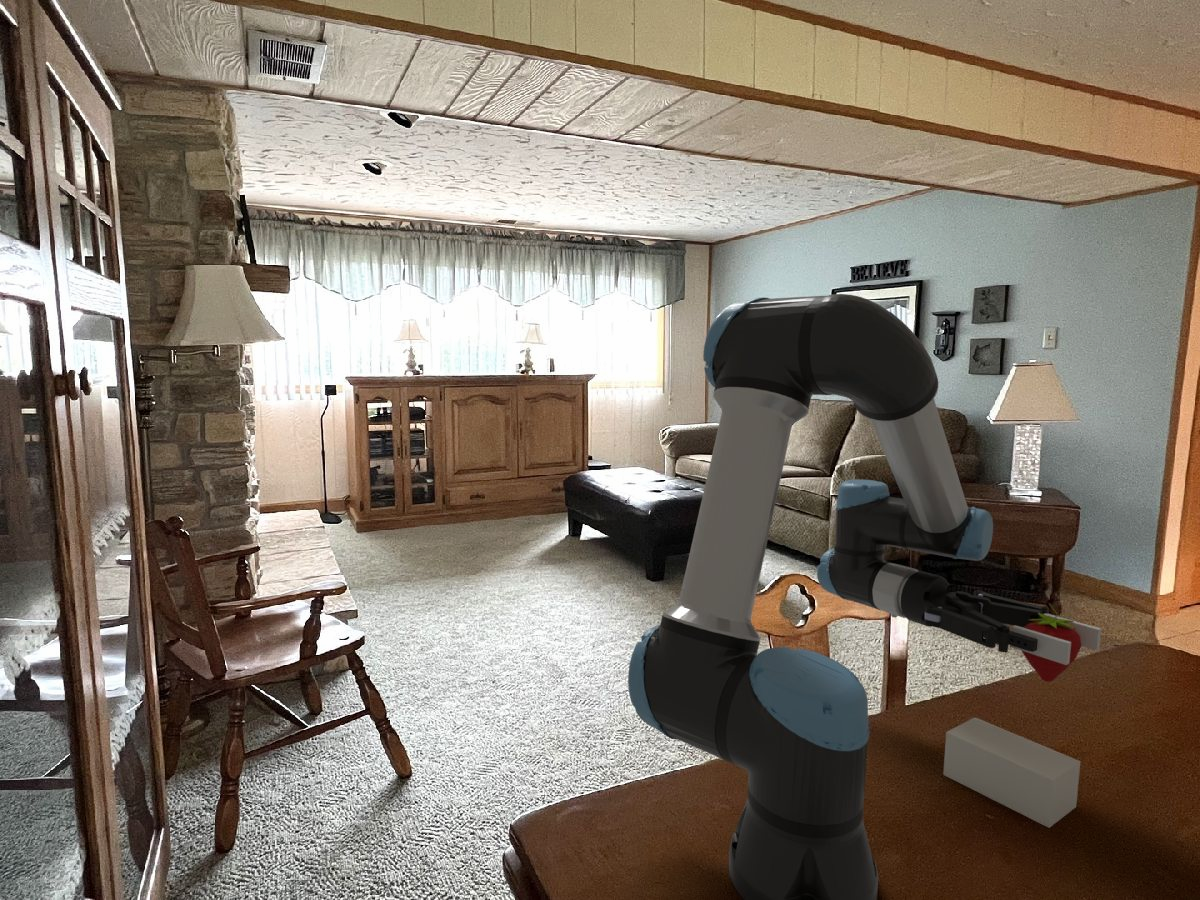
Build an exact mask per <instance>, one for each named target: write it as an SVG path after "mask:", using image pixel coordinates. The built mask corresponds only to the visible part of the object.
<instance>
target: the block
mask: <svg viewBox="0 0 1200 900" xmlns="http://www.w3.org/2000/svg"><path fill="white" fill-rule="evenodd" d="M944 744H945V747H944V757H943V758H944V760H943V775H944V776H945V777H947V778H949V779H951V780H953V781H954V782H957V783H959V784H960V785H962V786H965V787H967V788H969V789H970V790H973V791H975V792H976V793H978V794H981V795H983V796H984V797H987V798H989V799H990V800H992V801H995V802H997V803H999V804H1001V805H1003V806H1004V807H1006V808H1008V809H1010V810H1013V811H1014V812H1017V813H1019V814H1021V815H1023V816H1025V817H1027V818H1028V819H1031V820H1032V821H1035V822H1036V823H1038V824H1041V826H1045V827H1046V828H1051V827H1053V826H1054V825H1055V824H1056V823H1058V822H1059V821H1060V820H1061V819H1063V818H1064V817H1065V816H1067V815H1068V814H1070V812H1072V811H1073V810H1075V809H1076V808H1077V804H1078V803H1077V801H1078V800H1077V799H1078V793H1079V792H1078V791H1079V780H1080V770H1081V761H1080V760H1078V759H1076V758H1073V757H1071V756H1069V755H1066V754H1065V753H1061V752H1059V751H1056V750H1054V749H1052V748H1049V747H1047V746H1045V745H1042V744H1040V743H1037V742H1035V741H1032V740H1030V739H1028V738H1026V737H1024V736H1021V735H1018V734H1016V733H1013V732H1011V731H1009V730H1007V729H1003V728H1002V727H999V726H996V725H994V724H992V723H990V722H987V721H985V720H983V719H980V718H977V717H972V718H971V719H968V720H967V721H965V722H963V723H961V724H959V725H958V726H956V727H955V726H954V728H951V729H949V730H948V731H946V732H945V743H944Z"/></svg>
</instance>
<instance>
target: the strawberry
mask: <svg viewBox="0 0 1200 900" xmlns="http://www.w3.org/2000/svg"><path fill="white" fill-rule="evenodd" d="M1048 605H1050V607H1051V609H1052V610H1053V611H1054V613H1055V614H1056V615H1055V616H1056V617H1057V616H1058V615H1059V614H1058V612H1057V611H1056V610H1055V609H1054V607H1053V606H1052V604H1051V603H1050V602H1049V603H1048ZM1038 614H1039V615H1040V617H1042V618H1043V619H1029V621H1036V622H1033V623H1029V624H1027V625H1026V626H1024V627H1023V628H1026V629H1029V630H1033V631H1036V632H1039V633H1043V634H1046V635H1049V636H1053V637H1056V638H1059V639H1063V640H1066V641H1069V642H1071V650H1070V661H1069V664H1068V665H1064V664H1061V663H1058V662H1055V661H1052V660H1049V659H1046V658H1043V657H1040V656H1037V655H1034V654H1031V653H1028V652H1025V651H1021V652H1022V654H1023V656H1024V657H1025V659H1026V660H1027V662H1028V664H1029V665H1030V667H1032V668H1033V670H1034V671H1035V672H1036V673H1037V674H1038V676H1039V677H1040V679H1041V680H1042V681H1043V682H1047V683H1050V682H1053V681H1055V680H1056V678H1058V677H1059V675H1061V674H1062V673H1064V672H1065V671H1066V670H1067V669H1068V668H1069V667H1070V666H1071V665H1072V663H1073V662H1074V661H1075V660H1076V658H1077V657H1078V654H1079V652H1080V650H1081V647H1082V646H1081V640H1080V636H1079V634H1078V633H1077V632H1076V631H1075V630H1076V629H1075V628H1074V627H1072V626H1070V625H1068V624H1066V623H1068V622H1074V621H1075V620H1072V621H1070V620H1071V619H1069V620H1064V619H1058V620H1056V617H1055V618H1053V617H1049V616H1047V615H1044V614H1041V613H1038ZM1074 629H1075V630H1074Z"/></svg>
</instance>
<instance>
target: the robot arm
mask: <svg viewBox="0 0 1200 900" xmlns="http://www.w3.org/2000/svg"><path fill="white" fill-rule="evenodd" d="M703 361H704V362H706V363H705V366H704V368H703V369H704V373H705V376H706V378H707V381H708V382H709V384H710V385H711V386H712V387H713V388H714V390H713V393H712V394H713V395H712V397H713V399H714V400H715V401H716V403H717V405H718V406H719V408H720V409H721V414H720V419H719V424H718V429H717V433H716V437H715V441H714V446H713V450H712V455H711V459H710V464H709V467H708V471H707V475H706V480H705V485H704V488H703V489H704V490H703V494H702V498H701V501H700V506H699V511H698V515H697V520H696V525H695V528H694V533H693V537H692V542H691V546H690V551H689V553H688V554H689V555H688V559H687V563H686V564H687V565H686V569H685V571H684V572H685V573H684V577H683V581H682V586H681V590H680V594H679V600H678V601H677V602H676V604H674V605H672V606H671V607H669V608H668V609H666V610H664V611H663V612H662V616H661V619H660V625H657V626H653V627H651V628H649V629H647V630H646V631H645V632H644V633H643V634H642V635H641V641H637V643H636V644H635V646H634V648H633V651H632V653H631V656H630V661H629V666H628V675H627V677H628V678H627V684H628V694H629V698H630V702H631V704H632V706H633V707H634V711H635V713H636V715H637V716H638V718H640V719H641V720H642V721H643V722H644V723H645V724H646V725H647V726H649V727H652V728H654V729H655V730H657V731H658V732H660V733H662V734H663V735H664V736H666V737H668V738H669V739H671V740H678V741H680V742H682V743H684V744H687V745H689V746H691V747H694V748H696V749H698V750H700V751H703V752H704V753H707V754H710V755H712V756H714V757H717V758H719V759H721V760H723V761H726V762H728V763H730V764H732V765H734V766H737V767H740V768H741V769H744V770H745V771H746V772H747V786H748V787H747V800H746V802H745V804H744V807H743V809H742V812H741V815H740V817H739V820H738V822H737V825H736V827H735V830H734V832H733V834H732V836H731V838H730V839H731V840H730V843H729V844H730V845H729V850H728V851H729V857H728V871H729V877H730V879H731V882H732V884H733V886H734V888H735V891H737V893H738V894H739V895H740V898H742V899H743V900H878V889H879V888H878V886H879V873H878V868H877V863H876V860H875V858H874V856H873V854H872V852H871V847H870V843H869V840H868V839H869V838H868V835H867V831H866V828H865V825H864V824H865V823H864V802H865V790H866V788H865V787H866V771H867V755H868V743H869V742H868V741H869V738H870V731H871V730H870V722H869V721H870V720H869V703H868V701H869V700H868V695H867V692H866V689H865V687H864V685H863V684H862V682H861V681H860V680H859V678H858V676H857V675H856V674H854V672H853V671H851V670H850V669H849V668H848V667H846V666H845V665H843V664H842V663H840V662H839V661H837V660H835V659H833V658H831V657H829V656H826V655H824V654H822V653H821V654H820V653H818V652H816V651H813V650H809V649H805V648H799V647H798V648H796V649H792V648H791V647H789V646H788V647H787V646H782V647H781V646H777V647H770V648H767V649H764V650H762V651H760V652H759V653H758V651H759V646H760V642H761V637H760V635H759V633H758V632H757V630H756V628H755V627H754V625H753V623H752V614H753V612H754V611H753V610H754V605H755V601H756V596H757V591H758V588H759V582H760V577H761V573H762V572H761V571H762V568H763V564H764V559H765V554H766V550H767V544H768V540H769V535H770V530H771V526H772V521H773V517H774V511H775V507H776V502H777V497H778V493H779V488H780V483H781V478H782V474H783V469H784V465H785V460H786V455H787V450H788V446H789V440H790V437H791V433H792V432H791V431H792V427H793V425H794V424H795V423H797V422H798V421H800V420H801V419H803V418H805V417H807V415H808V414H809V410H810V404H811V400H812V397H813V396H840V397H844V398H847V399H849V400H851V401H852V402H853V405H854V407H855V409H856V410H857V411H858V414H860V415H861V416H862V417H864V418H866V419H867V420H870V422H871V425H872V426H873V427H872V428H873V430H874V432H875V434H876V436H877V439H878V441H879V444H880V446H881V448H882V451H883V453H884V455H885V458H886V460H887V463H888V465H889V466H890V470H891V472H892V474H893V477H894V479H895V481H896V484H897V487H898V488H899V491H900V493H901V497H902V498H900V497H896V496H895V497H894V496H890V492H889V491H890V490H889V486H888V484H887V483H884V482H882V481H877V480H872V479H848V480H845V481H843V482H841V483H840V484H839V487H838V492H837V498H836V499H837V501H836V507H835V511H836V512H835V536H834V537H835V540H834V542H835V544H834V547H833V548H829V549H828V550H826V551H825V552H824V553H823V554H822V555H821V557H820V560H819V561H820V563H819V565H817V567H816V568H817V570H816V575H817V577H816V578H817V581H818V584H819V585H820V587H821V588H822V590H824V591H826V592H828V593H830V594H832V595H834V596H837V597H839V598H841V599H843V600H846V601H850V602H854V603H857V604H860V605H863V606H865V607H866V606H867V607H869V608H873V609H876V610H878V611H882V612H885V613H888V614H890V617H892V618H898V617H899V618H903V619H907V621H911V622H913V623H917V624H920V625H922V626H926V627H931V628H932V627H933V628H938V629H941V630H943V631H945V632H949V633H950V634H954V635H955V636H959V637H961V638H964V639H966V640H969V641H970V642H974V643H977V644H979V645H981V646H983V647H986V648H989V649H995V648H996V645H997V646H998V647H997V648H998V649H997V651H998V652H1001V653H1008V651H1009V646H1010V648H1013V649H1016V650H1019V651H1021V652H1022V651H1025V652H1028V653H1031V654H1034V655H1037V656H1040V657H1043V658H1046V659H1049V660H1052V661H1055V662H1058V663H1061V664H1064V665H1068V664H1069V661H1070V650H1071V642H1069V641H1066V640H1063V639H1059V638H1056V637H1053V636H1049V635H1046V634H1043V633H1039V632H1036V631H1033V630H1029V629H1026V628H1023V627H1024V626H1026V625H1027V624H1029V623H1033V622H1036V621H1029V619H1043V618H1042V617H1040V615H1039V614H1038V613H1041V614H1044V615H1047V616H1049V617H1053V618H1055V617H1056V615H1054V614H1051V613H1050V608H1049V607H1048V606H1047V605H1043V606H1041V605H1038V604H1033V603H1029V602H1024V601H1021V600H1020V601H1019V600H1016V599H1011V598H1008V597H1007V598H1006V597H1004V596H999V595H995V594H991V593H988V592H986V591H982V590H979V589H978V590H974V592H973V594H970V593H969V592H966V591H963V590H962V591H961V590H957V591H955V592H954V591H953V590H952V588H951V586H950V584H949V582H948V580H947V579H946V578H945V577H943V576H941V575H939V574H935V573H934V574H933V573H931V572H927V571H923V570H920V571H919V570H918V569H916V568H912V567H909V566H907V565H906V566H905V565H902V564H897V563H892V562H889V561H886V560H885V559H884V558H885V553H886V547H887V546H888V547H893V548H898V549H905V550H910V551H915V552H920V553H925V554H931V555H935V556H936V555H937V556H942V557H948V558H952V559H955V560H958V559H960V560H968V561H975V562H976V561H982V560H983V559H985V558H986V557H987V555H988V553H989V552H990V548H991V545H992V541H993V534H994V522H993V521H994V520H993V517H992V515H991V513H990V512H989V511H987V510H985V509H982V508H977V507H975V506H968V504H967V500H966V498H965V495H964V491H963V487H962V485H961V482H960V479H959V475H958V471H957V468H956V466H955V462H954V459H953V456H952V452H951V450H950V449H951V448H950V445H949V443H948V439H947V436H946V433H945V430H944V427H943V424H942V420H941V417H940V413H939V410H938V408H937V404H936V400H935V398H936V397H937V396H936V395H937V394H938V391H939V390H938V389H939V379H938V375H937V372H936V369H935V366H934V363H933V360H932V358H931V356H930V354H929V353H928V350H927V349H926V348H925V346H924V344H923V343H922V342H921V340H920V339H919V338H918V337H917V336H916V334H915V333H914V331H912V329H910V327H909V326H908V325H907V324H905V323H904V322H903V321H902V320H901V319H900V318H899V317H898V316H896V315H895V314H894V313H893V312H891V311H889V310H888V309H886V308H885V307H883V306H882V305H880V304H878V303H877V302H875V301H872V300H870V299H868V298H864V297H862V296H860V295H853V294H845V293H834V294H833V293H832V294H829V295H814V296H813V295H812V296H795V297H777V298H776V297H775V298H773V297H772V298H770V297H764V296H763V297H757V298H753V299H750V300H742V301H737V302H734V303H732V304H729V306H726V307H725V308H724V309H722V310H721V311H720V312H719V313H718V315H716V317H715V319H714V320H713V321H712V323H711V325H710V328H709V330H708V331H707V334H706V337H705V341H704V347H703ZM1058 619H1064V620H1070V621H1074V622H1068V623H1066V624H1068V625H1070V626H1072V627H1074V628H1075V629H1076V630H1075V629H1074V630H1075V631H1076V632H1077V633H1078V634H1079V636H1080V640H1081V647H1084V648H1087V649H1091V650H1093V651H1098V650H1100V647H1101V645H1100V644H1101V637H1102V636H1101V635H1102V634H1101V633H1102V628H1100V627H1097V626H1094V625H1090V624H1085V623H1082V622H1079V621H1075V620H1072V619H1068V618H1064V617H1061V616H1058V615H1057V617H1056V620H1058ZM1008 625H1009V626H1008ZM1010 625H1011V626H1012V627H1011V630H1010Z"/></svg>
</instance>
